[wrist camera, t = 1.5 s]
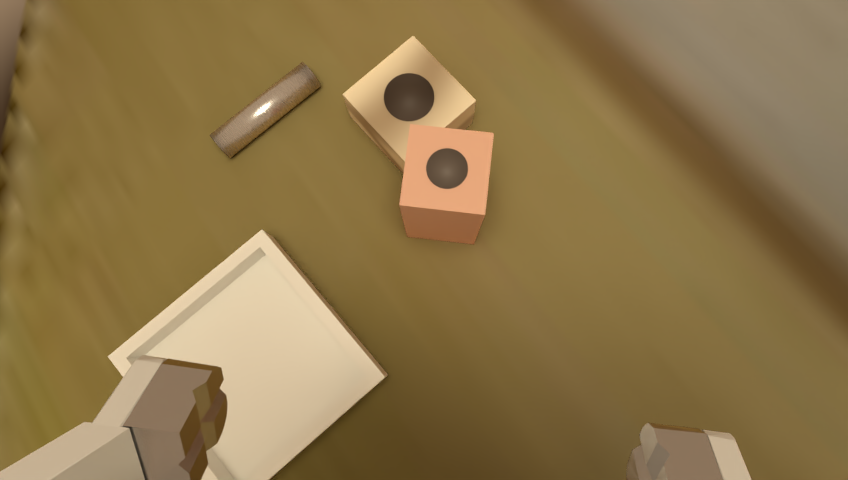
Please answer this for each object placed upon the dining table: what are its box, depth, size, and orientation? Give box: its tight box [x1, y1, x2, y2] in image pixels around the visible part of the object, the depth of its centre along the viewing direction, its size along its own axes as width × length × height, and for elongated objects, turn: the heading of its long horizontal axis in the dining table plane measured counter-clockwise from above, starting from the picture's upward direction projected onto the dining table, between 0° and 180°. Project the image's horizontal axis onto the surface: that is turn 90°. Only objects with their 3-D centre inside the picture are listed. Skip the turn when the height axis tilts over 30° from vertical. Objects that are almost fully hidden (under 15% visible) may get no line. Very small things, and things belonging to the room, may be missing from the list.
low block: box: [343, 36, 476, 174], centre depth 40 cm, size 6×6×4 cm
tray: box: [108, 230, 388, 480], centre depth 37 cm, size 12×12×3 cm
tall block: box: [399, 124, 494, 244], centre depth 36 cm, size 4×4×9 cm
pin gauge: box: [210, 62, 321, 158], centre depth 41 cm, size 8×2×2 cm
